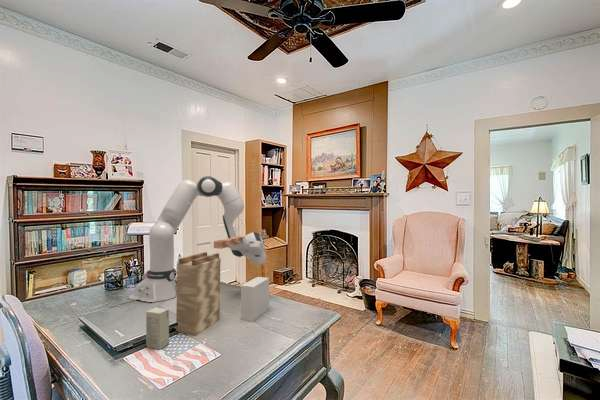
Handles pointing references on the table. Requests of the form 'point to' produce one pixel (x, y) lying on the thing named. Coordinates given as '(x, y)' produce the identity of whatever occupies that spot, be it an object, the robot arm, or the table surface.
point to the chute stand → (198, 292)
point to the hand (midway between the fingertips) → (237, 239)
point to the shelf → (254, 298)
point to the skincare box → (157, 328)
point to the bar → (228, 242)
